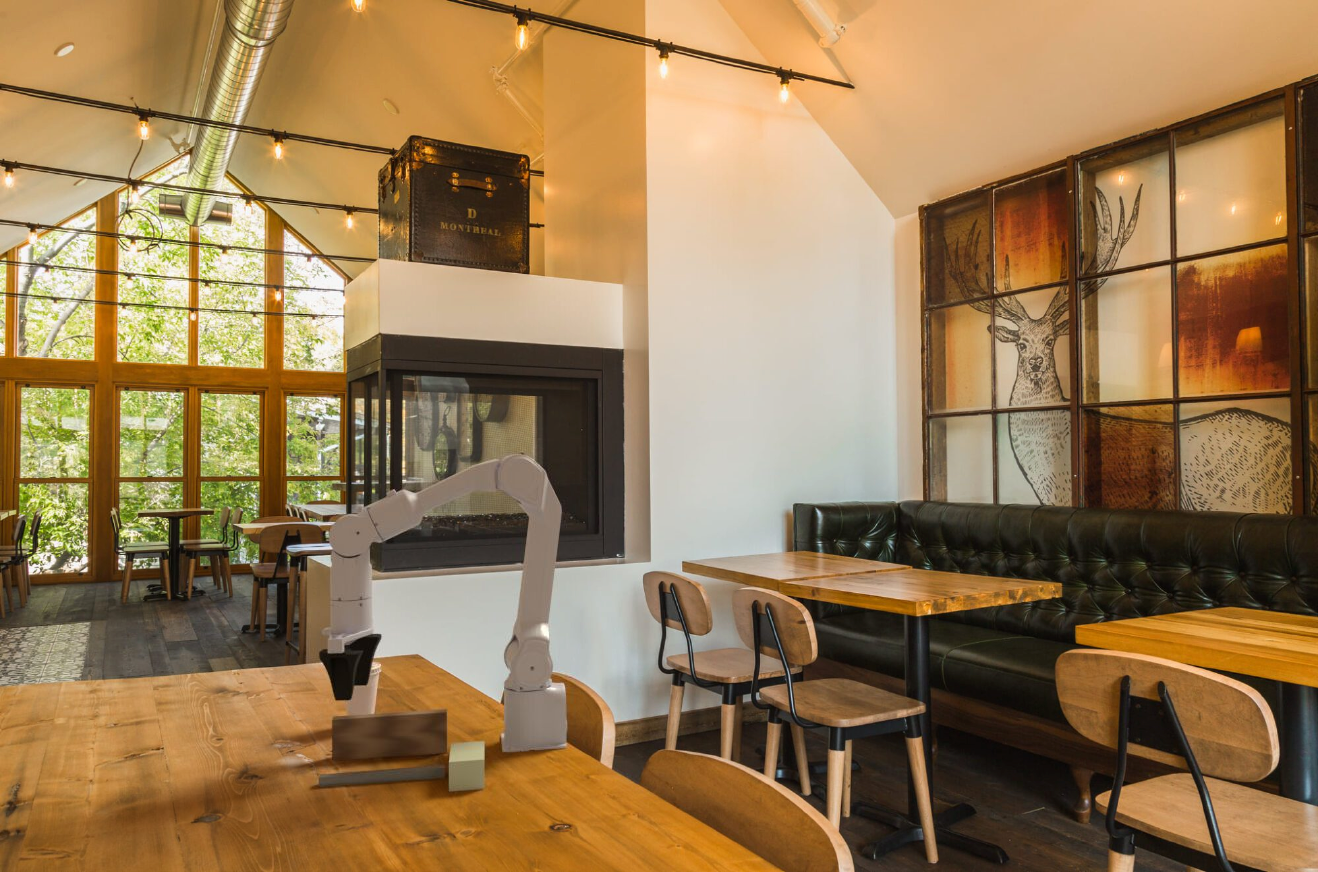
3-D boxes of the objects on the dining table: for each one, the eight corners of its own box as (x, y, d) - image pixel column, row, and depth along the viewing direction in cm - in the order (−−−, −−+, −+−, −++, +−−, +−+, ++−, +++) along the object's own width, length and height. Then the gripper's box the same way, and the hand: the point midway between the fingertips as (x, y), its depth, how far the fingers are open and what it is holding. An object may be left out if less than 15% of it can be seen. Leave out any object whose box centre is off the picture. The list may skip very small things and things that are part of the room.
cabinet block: (484, 773, 122) (484, 740, 122) (484, 794, 115) (484, 759, 115) (451, 776, 121) (451, 743, 121) (448, 797, 114) (448, 762, 114)
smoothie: (368, 733, 139) (368, 644, 139) (331, 731, 140) (331, 642, 141) (388, 721, 145) (388, 635, 146) (353, 719, 147) (353, 634, 147)
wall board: (447, 749, 131) (447, 709, 131) (446, 753, 130) (446, 712, 130) (333, 758, 128) (333, 716, 128) (332, 761, 126) (332, 719, 127)
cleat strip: (444, 777, 120) (444, 764, 120) (444, 781, 119) (444, 767, 119) (320, 788, 117) (320, 774, 117) (318, 791, 116) (318, 777, 116)
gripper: (339, 590, 135) (340, 679, 135) (304, 607, 120) (305, 707, 120) (386, 589, 135) (387, 678, 135) (357, 606, 120) (357, 706, 120)
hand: (351, 692), depth 127 cm, fingers open, 7 cm apart
